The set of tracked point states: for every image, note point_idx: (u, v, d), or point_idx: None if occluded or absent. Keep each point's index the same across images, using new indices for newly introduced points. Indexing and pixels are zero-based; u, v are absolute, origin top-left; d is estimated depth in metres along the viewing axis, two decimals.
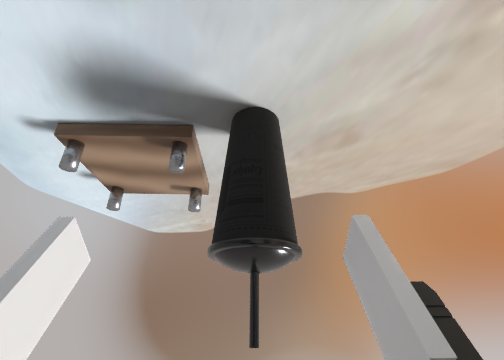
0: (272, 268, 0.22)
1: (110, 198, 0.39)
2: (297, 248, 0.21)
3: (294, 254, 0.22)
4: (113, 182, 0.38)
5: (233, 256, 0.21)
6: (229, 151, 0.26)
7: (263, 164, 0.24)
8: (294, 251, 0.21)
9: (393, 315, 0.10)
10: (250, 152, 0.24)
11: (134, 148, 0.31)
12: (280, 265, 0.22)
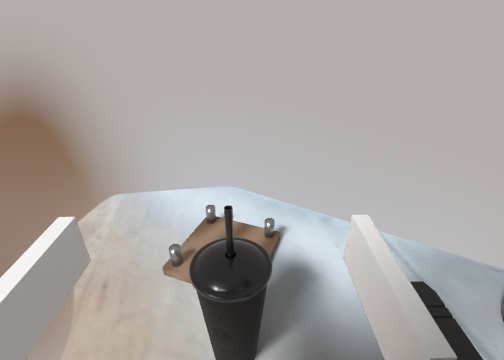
0: (230, 268, 0.25)
1: None
2: (238, 299, 0.23)
3: (231, 293, 0.24)
4: (221, 224, 0.51)
5: (258, 254, 0.27)
6: None
7: (256, 327, 0.29)
8: (239, 295, 0.24)
9: (393, 315, 0.10)
10: None
11: None
12: (229, 276, 0.24)
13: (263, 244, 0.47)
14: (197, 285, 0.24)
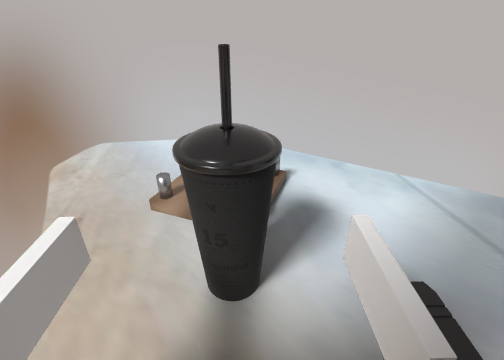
0: (226, 138, 0.18)
1: None
2: (237, 170, 0.17)
3: (227, 163, 0.17)
4: None
5: (264, 134, 0.21)
6: None
7: (260, 236, 0.22)
8: (239, 165, 0.17)
9: (393, 315, 0.10)
10: None
11: None
12: (225, 144, 0.18)
13: None
14: (181, 158, 0.18)
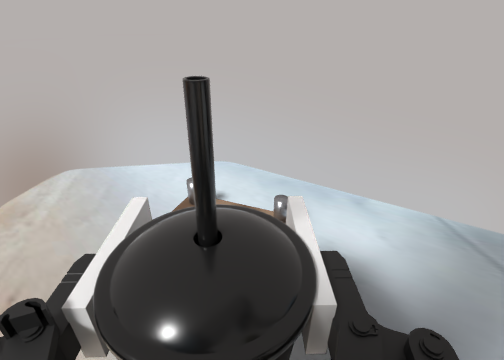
0: (204, 274, 0.09)
1: None
2: None
3: (201, 355, 0.07)
4: None
5: (281, 240, 0.11)
6: None
7: None
8: None
9: None
10: None
11: None
12: (199, 297, 0.08)
13: None
14: (104, 324, 0.08)
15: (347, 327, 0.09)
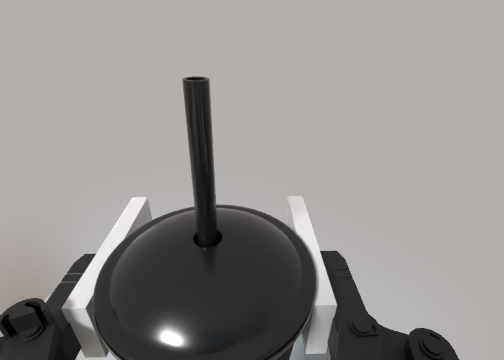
0: (204, 275, 0.09)
1: None
2: None
3: (201, 355, 0.07)
4: None
5: (281, 240, 0.11)
6: None
7: None
8: None
9: None
10: None
11: None
12: (199, 297, 0.08)
13: None
14: (103, 324, 0.08)
15: (347, 327, 0.09)
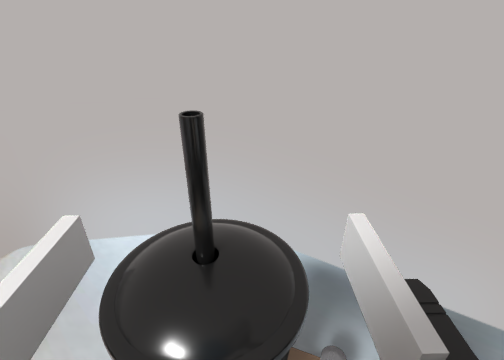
0: (202, 291, 0.09)
1: None
2: None
3: None
4: None
5: (275, 254, 0.11)
6: None
7: None
8: None
9: (387, 312, 0.10)
10: None
11: None
12: (198, 313, 0.09)
13: None
14: (110, 340, 0.09)
15: None
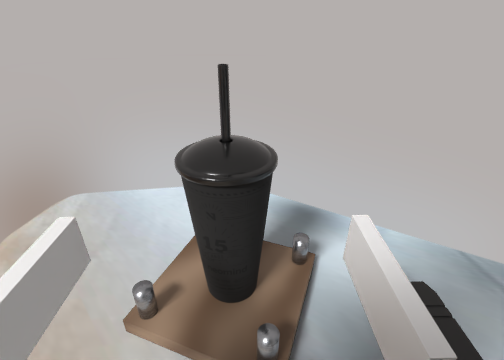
0: (226, 150, 0.20)
1: None
2: (236, 182, 0.18)
3: (226, 175, 0.18)
4: None
5: (261, 145, 0.22)
6: None
7: (258, 241, 0.23)
8: (237, 177, 0.18)
9: (392, 315, 0.10)
10: None
11: (277, 300, 0.26)
12: (224, 157, 0.19)
13: (291, 276, 0.29)
14: (184, 170, 0.19)
15: None
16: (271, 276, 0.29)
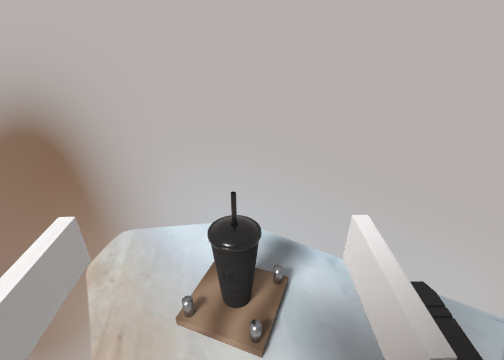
0: (234, 232, 0.39)
1: None
2: (239, 250, 0.38)
3: (235, 246, 0.38)
4: None
5: (252, 225, 0.41)
6: None
7: (251, 274, 0.43)
8: (240, 247, 0.38)
9: (393, 315, 0.10)
10: None
11: (262, 306, 0.46)
12: (233, 236, 0.38)
13: (272, 291, 0.48)
14: (213, 242, 0.39)
15: None
16: (260, 292, 0.48)
